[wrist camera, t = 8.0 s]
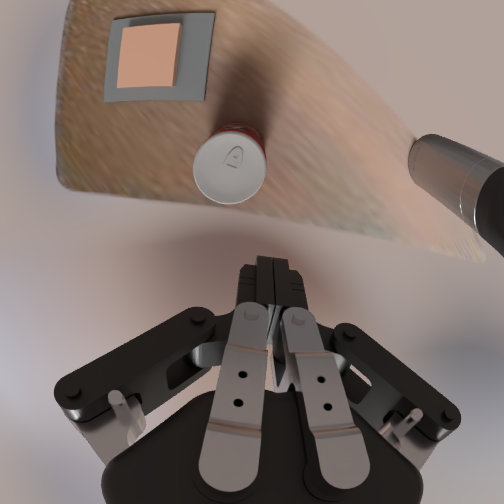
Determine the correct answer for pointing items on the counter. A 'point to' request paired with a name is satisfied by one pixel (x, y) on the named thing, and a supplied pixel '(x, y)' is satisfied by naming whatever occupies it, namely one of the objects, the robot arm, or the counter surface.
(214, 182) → the canned food
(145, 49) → the block
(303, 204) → the counter surface
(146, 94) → the mat
